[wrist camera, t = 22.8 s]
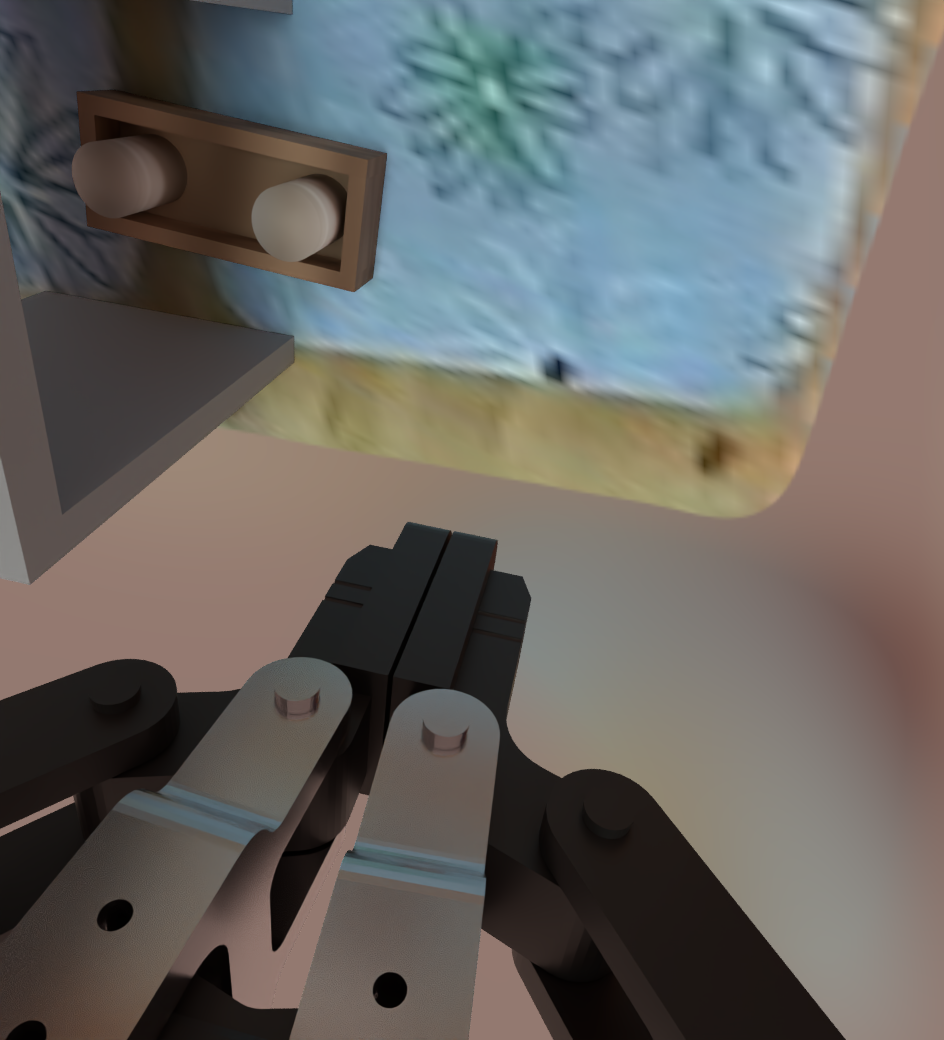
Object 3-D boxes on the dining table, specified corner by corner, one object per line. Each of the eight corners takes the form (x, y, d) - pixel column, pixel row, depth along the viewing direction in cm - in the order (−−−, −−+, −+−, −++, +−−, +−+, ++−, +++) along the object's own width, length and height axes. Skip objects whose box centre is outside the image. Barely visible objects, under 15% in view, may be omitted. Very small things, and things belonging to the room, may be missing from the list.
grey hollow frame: (292, -26, 34) (-136, -135, 15) (294, 362, 43) (30, 584, 25) (-17, -67, 36) (-744, -210, 17) (49, 316, 45) (-371, 493, 26)
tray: (387, 153, 37) (350, 165, 32) (372, 277, 40) (337, 305, 36) (114, 89, 38) (41, 93, 33) (121, 215, 41) (56, 235, 37)
